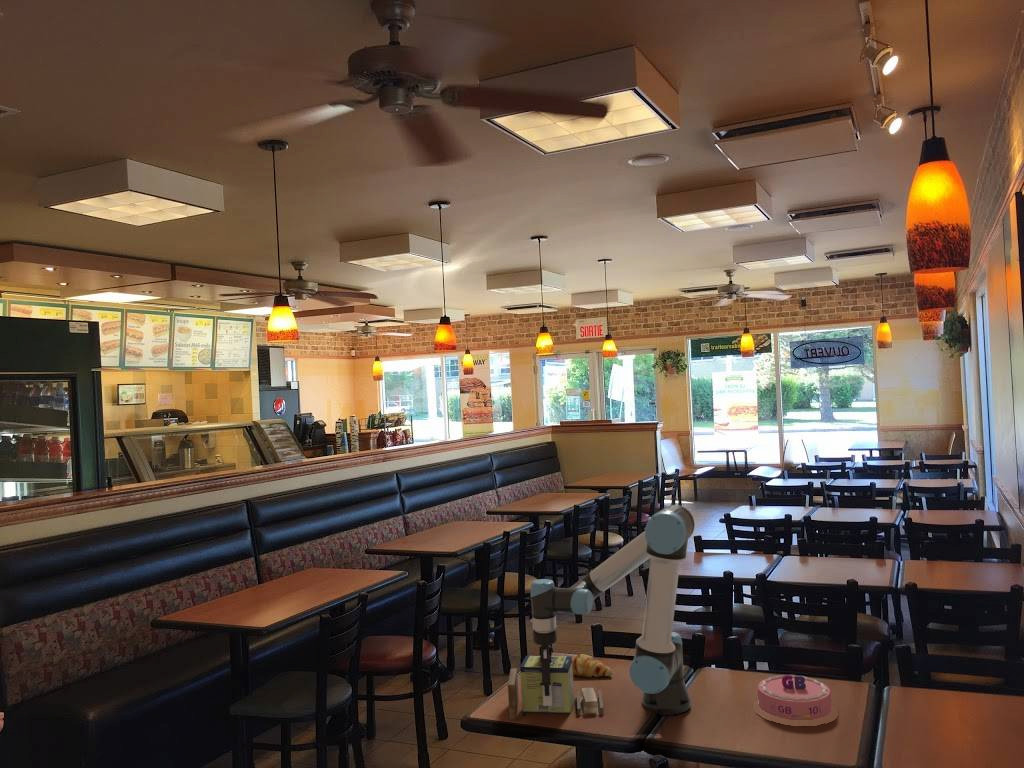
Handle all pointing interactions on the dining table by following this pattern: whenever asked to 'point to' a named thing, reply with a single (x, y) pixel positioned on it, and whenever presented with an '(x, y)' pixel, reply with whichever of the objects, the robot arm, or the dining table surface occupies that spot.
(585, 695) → the offcut stack
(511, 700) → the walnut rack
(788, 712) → the cake
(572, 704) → the protein box
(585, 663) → the croissant
